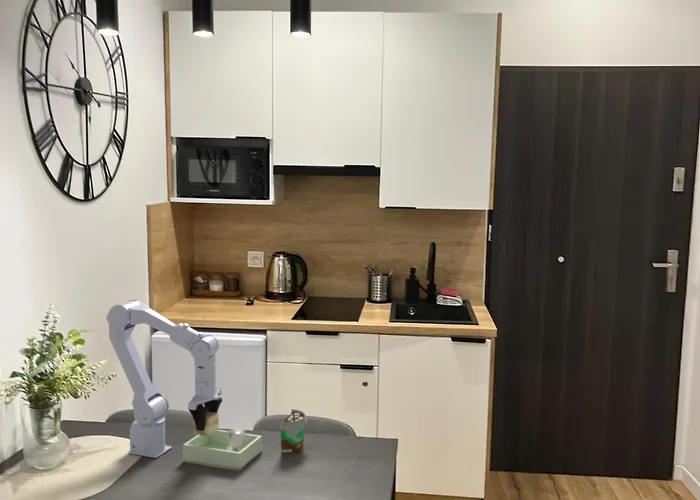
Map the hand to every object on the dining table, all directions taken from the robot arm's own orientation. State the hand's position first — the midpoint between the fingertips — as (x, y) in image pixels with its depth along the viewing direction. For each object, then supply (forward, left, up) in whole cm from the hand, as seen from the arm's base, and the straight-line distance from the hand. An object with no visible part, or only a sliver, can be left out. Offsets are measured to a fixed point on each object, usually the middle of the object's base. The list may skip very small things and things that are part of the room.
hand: (205, 426), depth 195 cm
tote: (+4, +2, -9) cm, 10 cm away
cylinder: (+8, +2, -8) cm, 12 cm away
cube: (0, 0, -2) cm, 2 cm away
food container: (+21, +14, -9) cm, 27 cm away
